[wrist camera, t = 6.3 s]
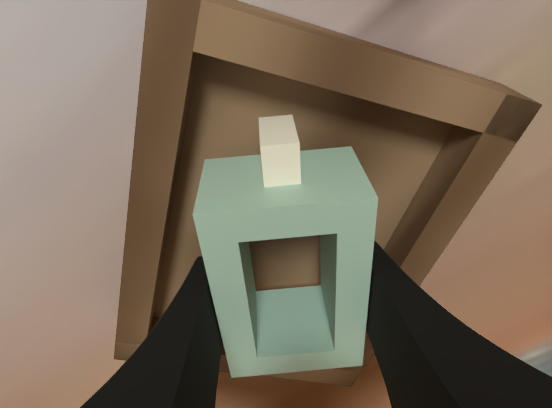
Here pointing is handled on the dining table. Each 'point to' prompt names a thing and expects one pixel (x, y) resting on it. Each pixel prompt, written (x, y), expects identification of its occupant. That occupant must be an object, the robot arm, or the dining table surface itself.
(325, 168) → the green hollow block
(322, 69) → the tray
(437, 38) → the dining table surface
